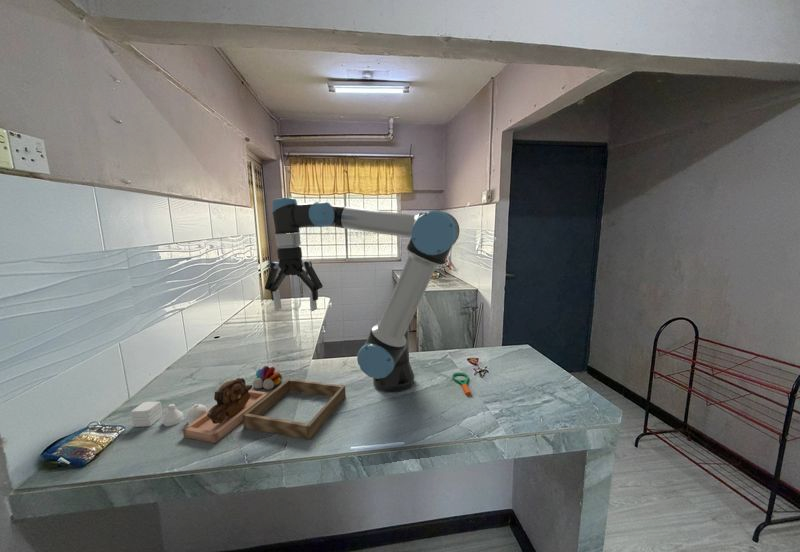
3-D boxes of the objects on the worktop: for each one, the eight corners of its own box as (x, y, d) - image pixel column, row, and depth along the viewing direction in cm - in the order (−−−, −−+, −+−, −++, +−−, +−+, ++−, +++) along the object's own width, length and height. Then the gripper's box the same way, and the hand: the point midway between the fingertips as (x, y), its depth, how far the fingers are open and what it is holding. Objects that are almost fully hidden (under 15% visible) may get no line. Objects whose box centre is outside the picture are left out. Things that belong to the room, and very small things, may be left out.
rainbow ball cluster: (273, 392, 110) (271, 373, 109) (249, 390, 112) (247, 371, 111) (286, 380, 118) (285, 362, 117) (263, 378, 120) (262, 360, 119)
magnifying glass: (450, 375, 119) (450, 371, 119) (466, 375, 119) (466, 370, 119) (459, 397, 104) (459, 392, 104) (477, 396, 104) (477, 391, 104)
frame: (345, 396, 105) (345, 385, 105) (310, 439, 84) (309, 426, 84) (289, 389, 111) (288, 378, 111) (243, 427, 90) (242, 415, 90)
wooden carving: (222, 431, 88) (218, 398, 86) (207, 430, 88) (203, 397, 87) (256, 398, 104) (253, 370, 102) (244, 398, 104) (240, 370, 103)
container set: (133, 428, 92) (130, 411, 91) (147, 417, 97) (144, 401, 96) (202, 425, 92) (199, 408, 91) (212, 415, 97) (209, 398, 97)
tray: (269, 399, 105) (268, 392, 104) (215, 443, 84) (214, 435, 84) (242, 395, 108) (242, 388, 107) (183, 437, 87) (182, 428, 87)
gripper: (329, 244, 102) (334, 307, 106) (263, 247, 108) (270, 306, 112) (318, 246, 95) (324, 313, 98) (248, 249, 101) (256, 312, 104)
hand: (295, 309), depth 105 cm, fingers open, 13 cm apart
